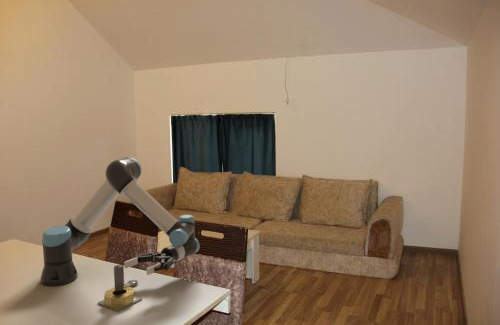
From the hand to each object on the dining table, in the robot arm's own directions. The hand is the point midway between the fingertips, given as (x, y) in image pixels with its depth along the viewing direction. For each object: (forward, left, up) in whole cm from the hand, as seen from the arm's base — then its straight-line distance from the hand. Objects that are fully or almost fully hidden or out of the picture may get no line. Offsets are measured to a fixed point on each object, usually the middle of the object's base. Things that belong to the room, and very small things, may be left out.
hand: (135, 268), depth 166 cm
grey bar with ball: (-9, +1, -11) cm, 14 cm away
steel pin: (0, -9, -10) cm, 14 cm away
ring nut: (0, -9, -11) cm, 14 cm away
